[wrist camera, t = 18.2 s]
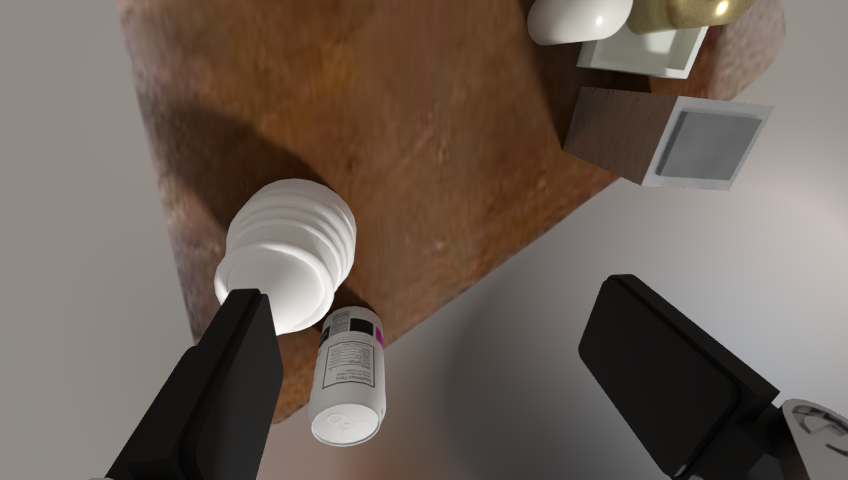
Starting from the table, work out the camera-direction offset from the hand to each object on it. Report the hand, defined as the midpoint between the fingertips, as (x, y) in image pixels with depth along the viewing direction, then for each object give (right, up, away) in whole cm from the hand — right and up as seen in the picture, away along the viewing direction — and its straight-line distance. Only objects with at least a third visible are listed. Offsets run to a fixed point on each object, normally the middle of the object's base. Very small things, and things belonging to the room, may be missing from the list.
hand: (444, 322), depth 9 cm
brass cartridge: (+22, +25, +23) cm, 41 cm away
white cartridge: (+12, +24, +23) cm, 35 cm away
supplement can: (-11, -10, +38) cm, 41 cm away
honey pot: (-15, +4, +30) cm, 34 cm away
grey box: (+21, +16, +29) cm, 39 cm away
